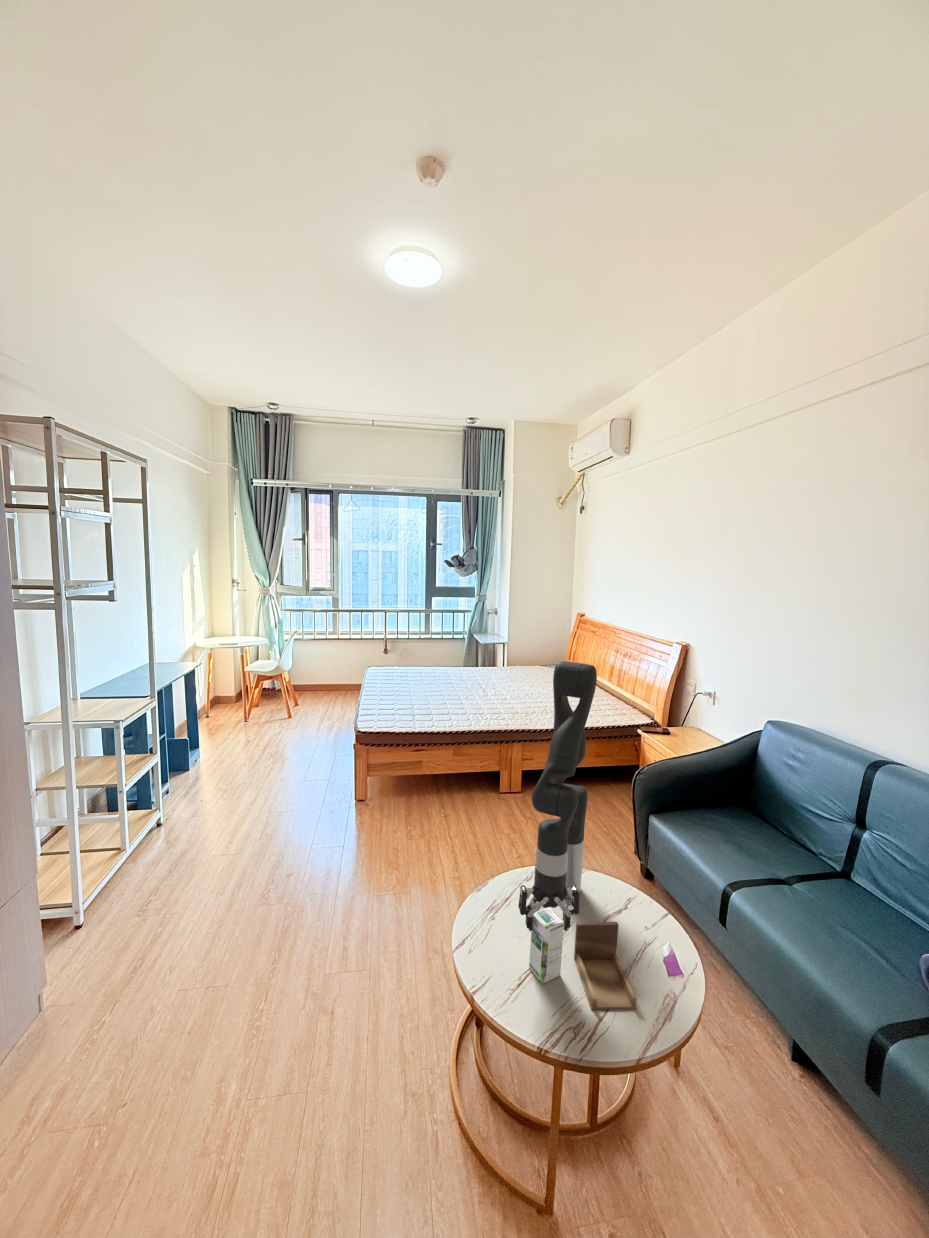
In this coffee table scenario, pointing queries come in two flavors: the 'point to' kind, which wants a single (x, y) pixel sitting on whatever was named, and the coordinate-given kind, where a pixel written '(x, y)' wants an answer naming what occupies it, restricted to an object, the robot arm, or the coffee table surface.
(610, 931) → the book rack
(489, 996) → the coffee table surface
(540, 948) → the syrup box
